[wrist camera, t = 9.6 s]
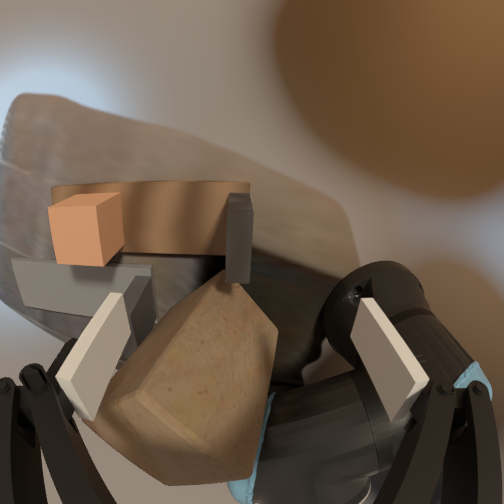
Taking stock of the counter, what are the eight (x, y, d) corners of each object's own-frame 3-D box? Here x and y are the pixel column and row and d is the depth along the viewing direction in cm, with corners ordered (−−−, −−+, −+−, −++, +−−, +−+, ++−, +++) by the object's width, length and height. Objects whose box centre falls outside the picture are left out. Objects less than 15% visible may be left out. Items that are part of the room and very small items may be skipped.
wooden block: (220, 362, 36) (166, 487, 17) (169, 308, 35) (77, 418, 16) (280, 329, 33) (253, 480, 14) (226, 266, 31) (137, 393, 13)
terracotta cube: (120, 192, 28) (95, 205, 22) (124, 243, 30) (103, 266, 24) (76, 194, 27) (47, 207, 22) (82, 242, 30) (57, 263, 24)
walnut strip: (249, 182, 29) (254, 200, 21) (245, 252, 32) (248, 293, 24) (55, 186, 28) (9, 205, 19) (63, 246, 31) (24, 278, 22)
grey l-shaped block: (152, 265, 32) (128, 306, 24) (159, 319, 35) (142, 366, 27) (14, 257, 31) (-21, 285, 22) (27, 302, 34) (-2, 334, 25)
